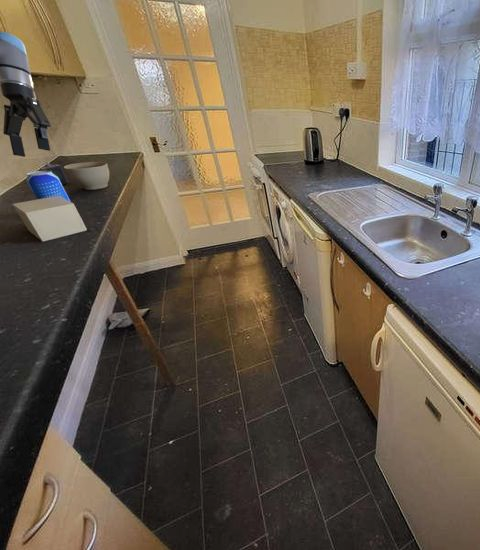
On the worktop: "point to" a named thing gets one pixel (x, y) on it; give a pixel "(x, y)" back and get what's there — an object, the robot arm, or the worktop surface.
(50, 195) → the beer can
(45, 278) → the worktop surface
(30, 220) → the white slanted wedge
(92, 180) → the planter bowl
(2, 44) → the robot arm
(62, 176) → the flask
